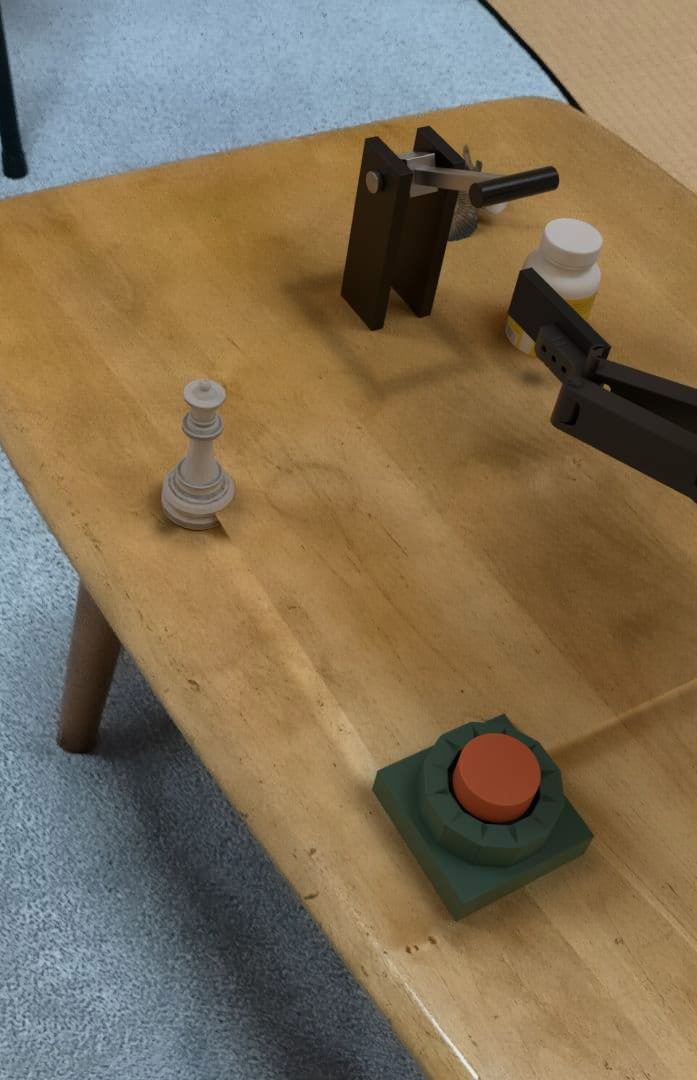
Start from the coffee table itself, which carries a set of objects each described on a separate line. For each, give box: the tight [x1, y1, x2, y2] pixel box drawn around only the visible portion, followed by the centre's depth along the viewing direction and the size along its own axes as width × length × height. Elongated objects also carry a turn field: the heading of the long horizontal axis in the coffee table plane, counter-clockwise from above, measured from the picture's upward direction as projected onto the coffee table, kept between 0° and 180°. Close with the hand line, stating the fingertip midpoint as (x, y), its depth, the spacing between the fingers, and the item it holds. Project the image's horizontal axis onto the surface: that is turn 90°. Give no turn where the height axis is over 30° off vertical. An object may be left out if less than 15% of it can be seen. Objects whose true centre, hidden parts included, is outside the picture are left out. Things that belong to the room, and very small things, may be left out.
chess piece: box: [161, 378, 235, 531], centre depth 71 cm, size 4×4×10 cm
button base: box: [371, 713, 595, 922], centre depth 62 cm, size 8×8×4 cm
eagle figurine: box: [447, 143, 511, 243], centre depth 95 cm, size 8×7×9 cm
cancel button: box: [453, 733, 541, 823], centre depth 60 cm, size 4×4×2 cm
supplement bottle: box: [504, 217, 604, 359], centre depth 86 cm, size 5×5×10 cm
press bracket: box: [340, 125, 466, 332], centre depth 84 cm, size 12×8×14 cm, turn 30°
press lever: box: [395, 150, 560, 210], centre depth 76 cm, size 13×6×2 cm, turn 30°
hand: (621, 261), depth 65 cm, fingers open, 13 cm apart
